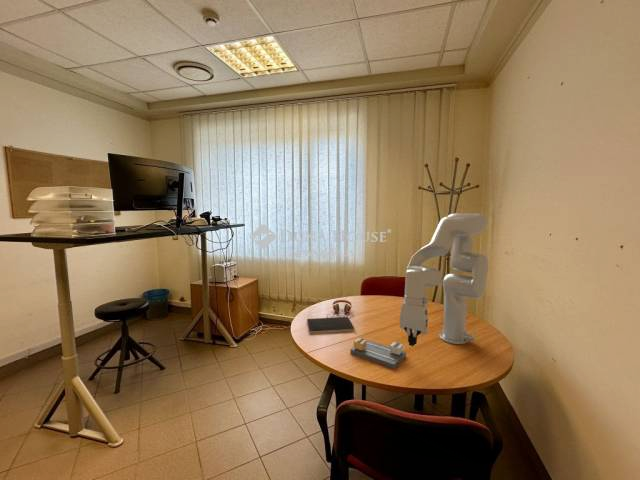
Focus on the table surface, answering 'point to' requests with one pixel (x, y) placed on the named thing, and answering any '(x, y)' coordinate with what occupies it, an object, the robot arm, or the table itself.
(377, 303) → the table surface
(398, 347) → the white fader
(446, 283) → the robot arm
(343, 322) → the hardcover book
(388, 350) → the mixer console
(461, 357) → the table surface
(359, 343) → the amber fader
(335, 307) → the headphones
